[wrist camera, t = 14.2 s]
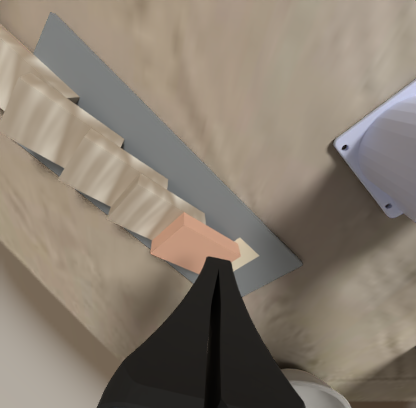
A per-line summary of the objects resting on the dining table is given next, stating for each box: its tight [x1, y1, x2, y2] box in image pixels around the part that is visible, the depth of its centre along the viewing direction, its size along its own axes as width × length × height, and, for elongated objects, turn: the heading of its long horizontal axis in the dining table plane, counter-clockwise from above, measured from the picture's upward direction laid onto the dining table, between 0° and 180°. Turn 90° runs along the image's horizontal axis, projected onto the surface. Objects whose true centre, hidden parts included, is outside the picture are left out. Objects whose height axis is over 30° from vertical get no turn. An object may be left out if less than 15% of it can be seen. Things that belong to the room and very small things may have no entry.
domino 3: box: [58, 129, 168, 207], centre depth 19 cm, size 2×5×8 cm
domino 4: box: [107, 173, 206, 240], centre depth 21 cm, size 2×5×8 cm
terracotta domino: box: [150, 212, 241, 274], centre depth 22 cm, size 2×5×8 cm
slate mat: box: [15, 12, 303, 297], centre depth 22 cm, size 31×12×1 cm, turn 45°
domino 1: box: [0, 24, 80, 111], centre depth 18 cm, size 2×5×8 cm
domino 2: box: [0, 73, 124, 168], centre depth 18 cm, size 2×5×8 cm
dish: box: [280, 369, 351, 408], centre depth 33 cm, size 18×14×5 cm
